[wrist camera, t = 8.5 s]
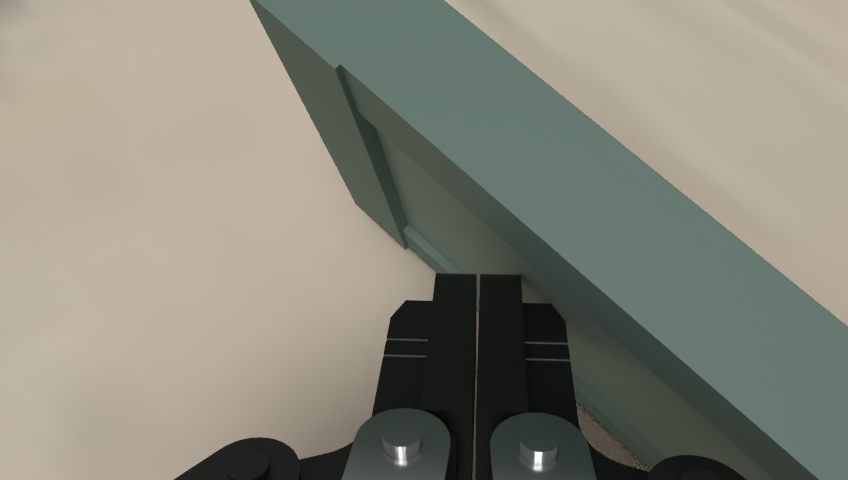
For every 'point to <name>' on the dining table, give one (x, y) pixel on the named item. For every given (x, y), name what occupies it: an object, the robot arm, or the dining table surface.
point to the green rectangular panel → (571, 236)
